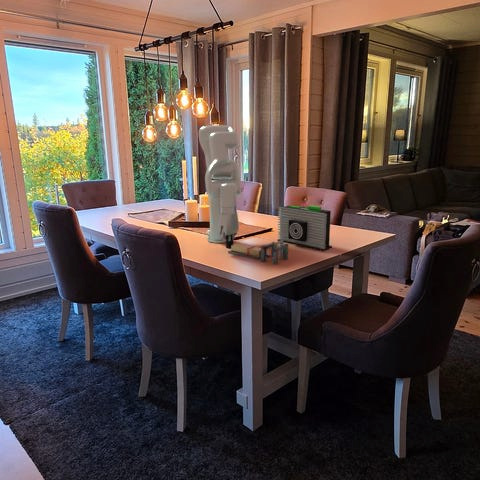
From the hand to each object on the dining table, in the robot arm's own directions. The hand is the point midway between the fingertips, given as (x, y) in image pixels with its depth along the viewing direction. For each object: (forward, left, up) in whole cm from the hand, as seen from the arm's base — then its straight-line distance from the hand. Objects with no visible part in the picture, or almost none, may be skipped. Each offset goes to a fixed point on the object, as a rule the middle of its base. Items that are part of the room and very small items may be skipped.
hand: (229, 248), depth 191 cm
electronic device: (+23, +30, -2) cm, 37 cm away
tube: (+10, 0, -2) cm, 11 cm away
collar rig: (+25, 0, -1) cm, 25 cm away
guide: (+11, 0, -1) cm, 11 cm away
